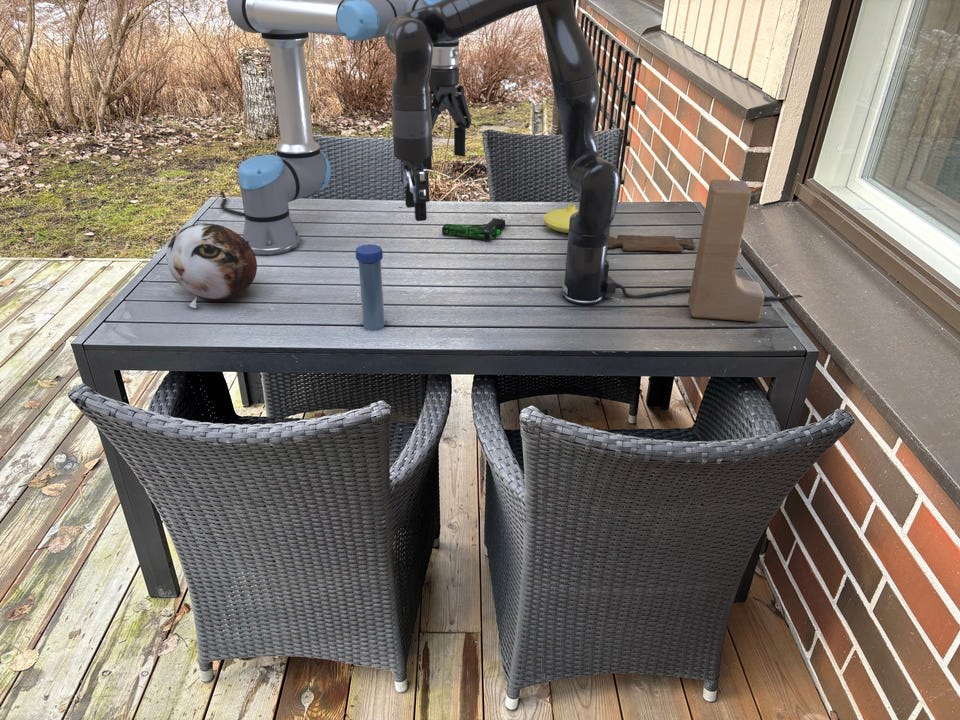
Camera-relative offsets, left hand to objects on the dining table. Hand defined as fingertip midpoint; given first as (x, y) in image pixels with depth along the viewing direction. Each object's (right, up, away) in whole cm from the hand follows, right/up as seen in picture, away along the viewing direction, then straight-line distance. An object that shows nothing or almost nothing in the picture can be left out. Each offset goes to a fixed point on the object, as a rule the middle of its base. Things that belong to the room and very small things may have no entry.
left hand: (443, 161), depth 169 cm
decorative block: (+65, -36, -5) cm, 74 cm away
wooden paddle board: (+56, -15, +31) cm, 66 cm away
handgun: (+8, -10, +38) cm, 40 cm away
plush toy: (-53, -32, 0) cm, 62 cm away
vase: (+35, -8, +42) cm, 55 cm away
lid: (-14, -24, -21) cm, 35 cm away
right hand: (-4, -17, -24) cm, 30 cm away
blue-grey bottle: (-15, -39, -12) cm, 44 cm away
